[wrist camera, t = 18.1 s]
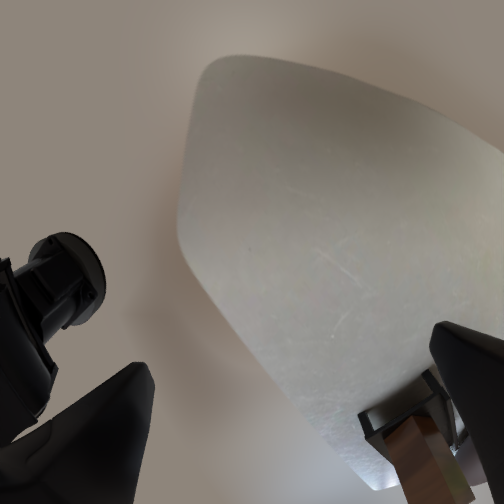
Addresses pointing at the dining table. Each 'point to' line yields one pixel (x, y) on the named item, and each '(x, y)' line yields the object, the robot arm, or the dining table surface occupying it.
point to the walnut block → (426, 464)
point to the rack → (432, 406)
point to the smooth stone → (470, 463)
